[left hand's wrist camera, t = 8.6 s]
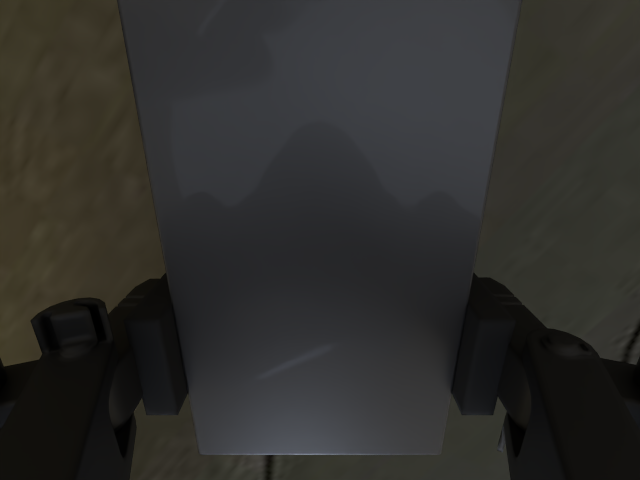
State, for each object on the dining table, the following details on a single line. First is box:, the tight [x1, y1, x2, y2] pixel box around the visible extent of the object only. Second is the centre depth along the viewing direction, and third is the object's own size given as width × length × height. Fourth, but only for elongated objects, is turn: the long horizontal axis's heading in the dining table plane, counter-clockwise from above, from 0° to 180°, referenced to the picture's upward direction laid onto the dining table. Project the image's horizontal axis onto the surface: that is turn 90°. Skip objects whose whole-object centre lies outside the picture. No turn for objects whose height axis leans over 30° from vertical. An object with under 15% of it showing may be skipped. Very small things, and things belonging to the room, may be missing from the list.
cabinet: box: [117, 0, 522, 455], centre depth 12 cm, size 18×7×11 cm, turn 0°
